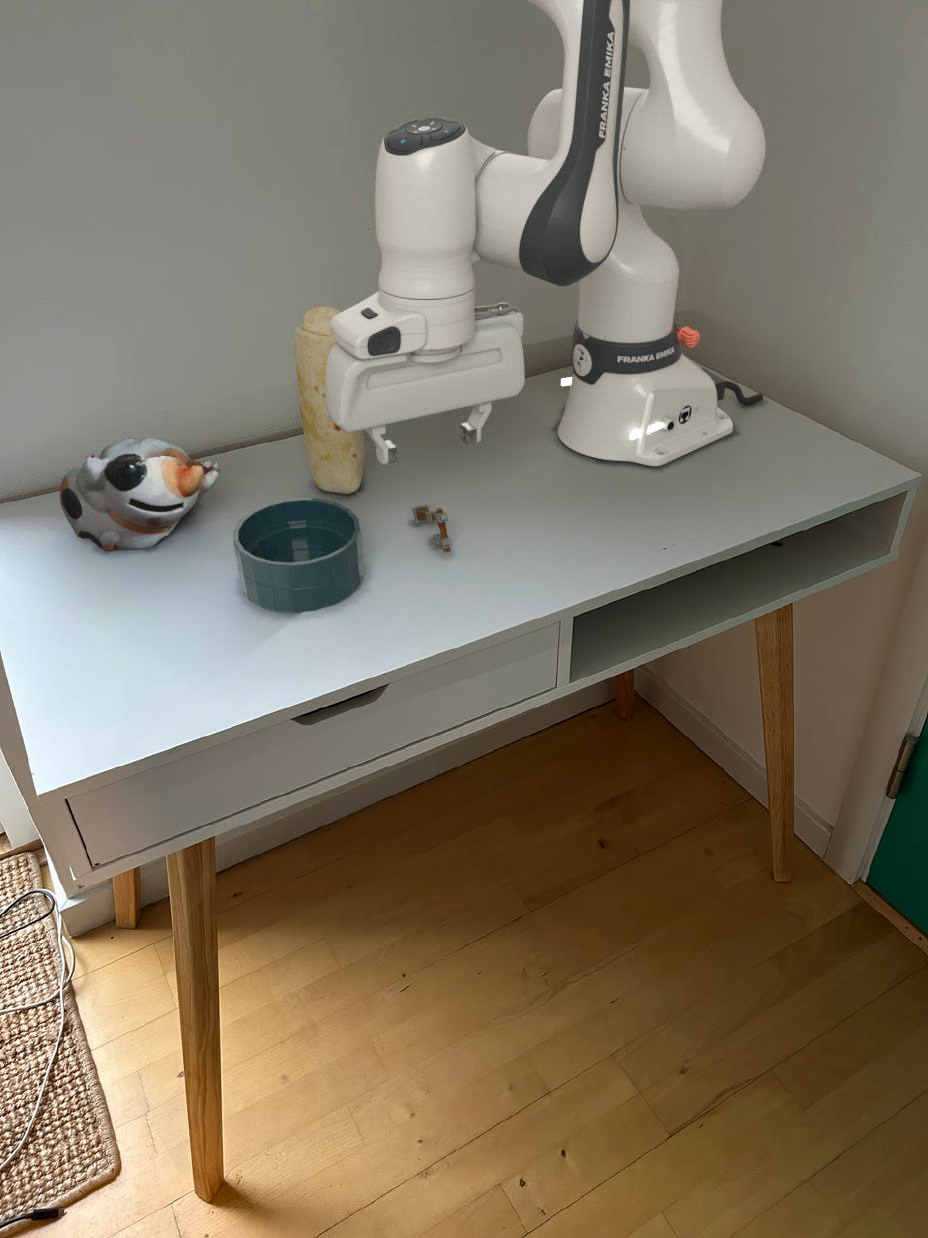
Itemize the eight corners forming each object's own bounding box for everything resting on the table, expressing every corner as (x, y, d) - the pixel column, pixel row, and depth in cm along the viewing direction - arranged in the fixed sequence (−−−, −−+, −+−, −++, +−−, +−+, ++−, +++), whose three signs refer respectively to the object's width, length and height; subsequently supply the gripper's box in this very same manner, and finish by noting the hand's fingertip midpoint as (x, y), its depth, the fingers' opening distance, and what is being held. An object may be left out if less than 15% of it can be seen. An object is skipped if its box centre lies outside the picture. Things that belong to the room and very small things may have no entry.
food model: (380, 494, 113) (369, 324, 101) (324, 506, 111) (306, 334, 99) (352, 457, 120) (339, 294, 108) (299, 468, 118) (279, 303, 106)
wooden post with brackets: (442, 554, 101) (435, 511, 100) (418, 545, 109) (411, 505, 108) (458, 550, 102) (451, 507, 101) (434, 542, 109) (427, 501, 108)
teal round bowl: (336, 536, 106) (331, 487, 102) (383, 594, 98) (380, 543, 94) (226, 566, 101) (217, 516, 98) (265, 630, 93) (257, 578, 89)
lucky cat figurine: (192, 482, 115) (217, 399, 105) (206, 566, 110) (234, 488, 99) (54, 474, 108) (66, 384, 98) (61, 564, 103) (75, 479, 92)
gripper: (507, 289, 98) (502, 418, 106) (313, 322, 90) (324, 459, 98) (540, 308, 93) (533, 442, 101) (339, 345, 85) (349, 486, 93)
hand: (429, 451), depth 99 cm, fingers open, 8 cm apart
